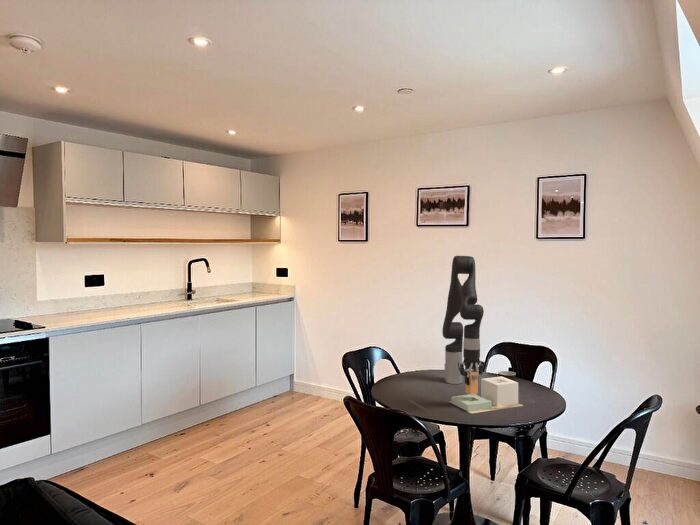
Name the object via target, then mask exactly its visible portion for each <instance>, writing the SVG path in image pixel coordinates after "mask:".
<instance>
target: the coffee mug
mask: <svg viewBox="0 0 700 525" xmlns="http://www.w3.org/2000/svg"><path fill="white" fill-rule="evenodd" d="M497 374H498V375H494V376H493V377H500V376H502V377H505V378H507V379H510V380H513V381H515V382H516V378H517V377H516V374H517V373H516V372H514V371H509V370H502V371H501V370H499V371H498V372H497Z"/></svg>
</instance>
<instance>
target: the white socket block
mask: <svg viewBox="0 0 700 525" xmlns="http://www.w3.org/2000/svg"><path fill="white" fill-rule="evenodd" d="M480 382H481V383H480V386H481V387H480V393H481V394H480V395H481V397H483V398H485V399H487V400H489V401H492V405H494V406H497V407H500V406H507V405H513V404H518V403H519V382H517V381H516V380H515V381H513V380H510V379H507V378H505V377H502V376H500V377H499V376H498V377H494V376H492V377H486V378H481V379H480Z"/></svg>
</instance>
